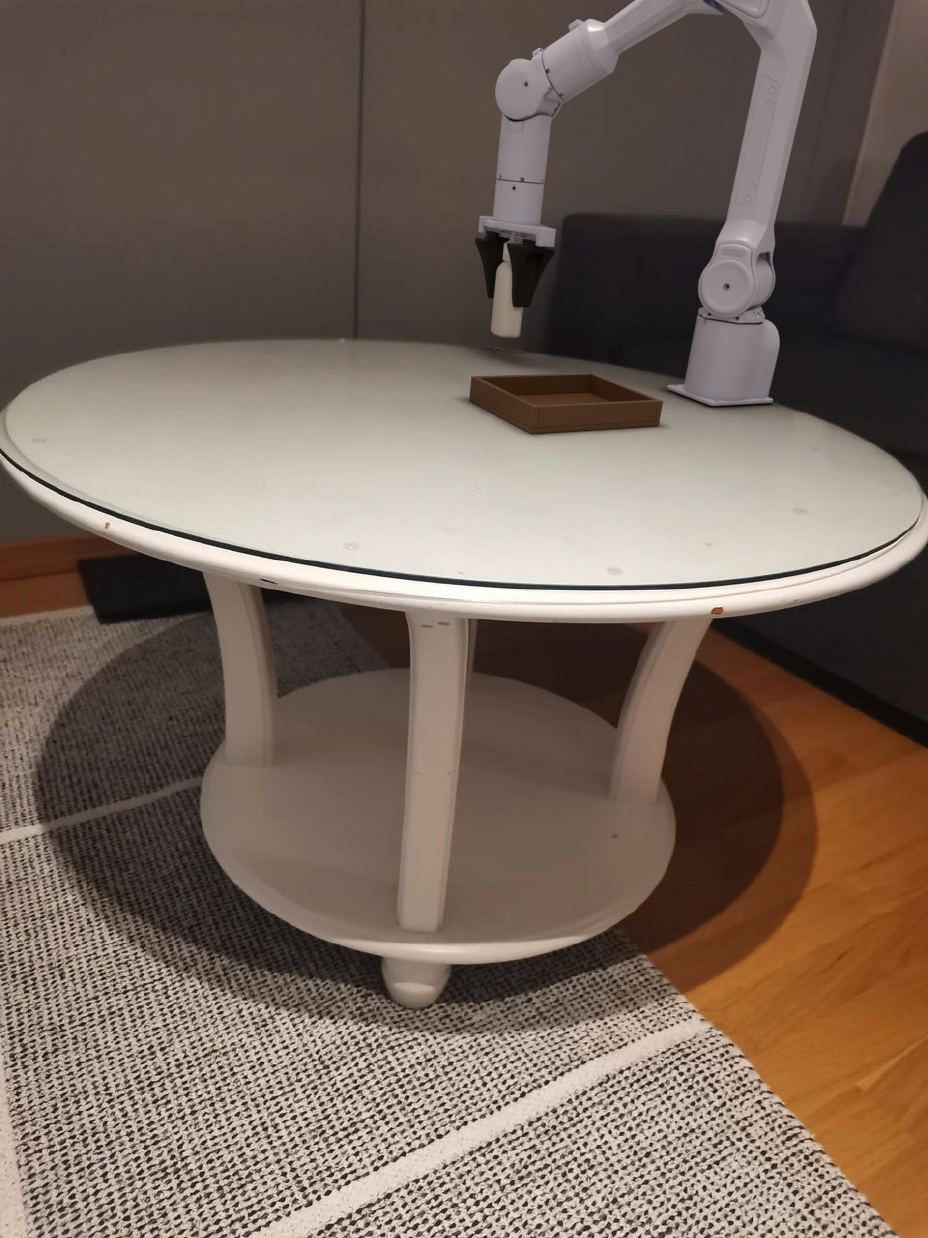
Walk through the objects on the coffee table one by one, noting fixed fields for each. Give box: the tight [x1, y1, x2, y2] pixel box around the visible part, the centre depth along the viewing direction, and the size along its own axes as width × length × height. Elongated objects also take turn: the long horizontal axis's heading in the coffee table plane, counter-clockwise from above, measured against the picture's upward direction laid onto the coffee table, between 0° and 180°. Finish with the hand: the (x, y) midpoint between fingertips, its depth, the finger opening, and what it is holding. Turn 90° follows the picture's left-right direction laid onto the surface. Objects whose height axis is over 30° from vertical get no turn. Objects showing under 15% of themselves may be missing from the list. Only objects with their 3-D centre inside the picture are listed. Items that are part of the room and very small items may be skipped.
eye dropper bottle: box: [490, 231, 524, 339], centre depth 115 cm, size 4×6×12 cm
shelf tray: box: [468, 372, 664, 435], centre depth 95 cm, size 15×12×2 cm
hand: (508, 302), depth 116 cm, fingers closed on eye dropper bottle, 5 cm apart
